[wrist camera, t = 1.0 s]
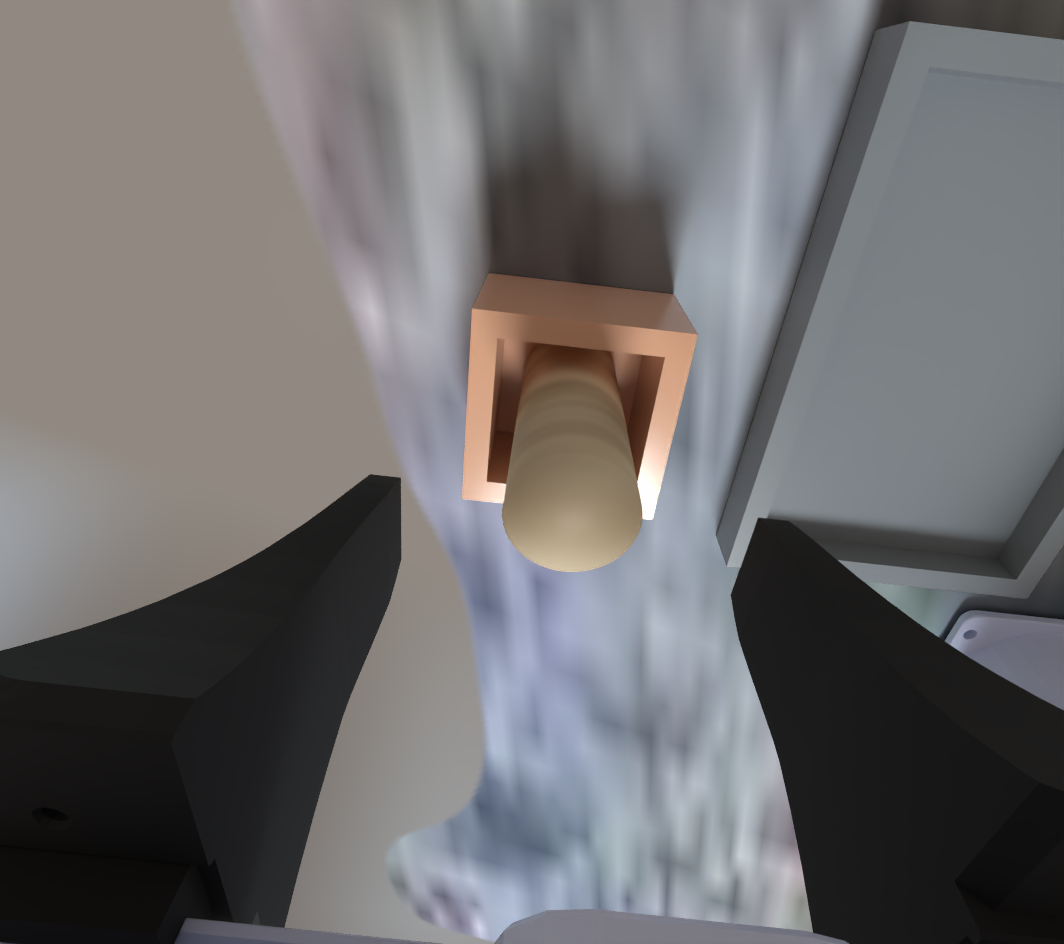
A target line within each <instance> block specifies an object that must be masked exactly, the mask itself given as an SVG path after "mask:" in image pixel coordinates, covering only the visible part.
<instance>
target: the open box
mask: <svg viewBox="0 0 1064 944" xmlns="http://www.w3.org/2000/svg"><path fill="white" fill-rule="evenodd" d="M697 337H698V334H697V332H696V330H695V329H694V327H693V325H692V324H691V322H690V320H689V319H688V317H687V315H686V314H685V312H684V310H683V309H682V307H681V305H680V304H679V302H678V300H677V299H676V297H675V295H674V294H667V293H658V292H650V291H641V290H632V289H624V288H615V287H606V286H597V285H589V284H580V283H571V282H563V281H554V280H545V279H537V278H528V277H519V276H511V275H502V274H493V273H488V275H487V278H486V280H485V282H484V284H483V286H482V288H481V290H480V293H479V295H478V297H477V299H476V301H475V303H474V305H473V308H472V319H471V338H470V357H469V376H468V395H467V414H466V433H465V452H464V471H463V490H462V499H468V500H477V501H486V502H495V503H503V502H504V496H505V489H506V483H507V476H508V470H509V464H510V457H511V451H512V444H513V438H514V431H515V425H516V418H517V412H518V406H519V399H520V393H521V386H522V380H523V373H524V367H525V364H526V361H527V359H528V357H529V355H530V354H531V352H532V351H533V350H534V349H535V348H536V347H537V346H538V345H539V344H540V343H543V344H552V345H561V346H570V347H578V348H587V349H596V350H605V351H607V352H608V353H609V355H610V356H611V358H612V360H613V363H614V367H615V372H616V377H617V382H618V387H619V392H620V397H621V402H622V407H623V412H624V417H625V422H626V427H627V432H628V438H629V443H630V448H631V453H632V458H633V463H634V468H635V473H636V478H637V483H638V488H639V493H640V498H641V504H642V510H643V518H642V519H649V520H653V516H654V512H655V508H656V503H657V499H658V495H659V491H660V487H661V483H662V479H663V475H664V471H665V467H666V463H667V459H668V455H669V451H670V446H671V442H672V438H673V434H674V430H675V426H676V422H677V418H678V414H679V410H680V406H681V402H682V398H683V394H684V389H685V385H686V381H687V377H688V373H689V369H690V365H691V361H692V357H693V353H694V349H695V345H696V341H697Z"/></svg>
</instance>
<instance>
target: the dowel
mask: <svg viewBox="0 0 1064 944" xmlns="http://www.w3.org/2000/svg"><path fill="white" fill-rule="evenodd" d="M642 518H643V510H642V504H641V498H640V493H639V488H638V483H637V478H636V473H635V468H634V463H633V458H632V453H631V448H630V443H629V438H628V432H627V427H626V422H625V417H624V412H623V407H622V402H621V397H620V392H619V387H618V382H617V377H616V372H615V367H614V363H613V360H612V358H611V356H610V355H609V353H608V352H607V351H605V350H596V349H587V348H578V347H570V346H561V345H552V344H543V343H540V344H539V345H538V346H537V347H536V348H535V349H534V350H533V351H532V352H531V354H530V355H529V357H528V359H527V361H526V364H525V367H524V373H523V380H522V386H521V393H520V399H519V406H518V412H517V418H516V425H515V431H514V438H513V444H512V451H511V457H510V464H509V470H508V476H507V483H506V489H505V496H504V502H503V509H502V519H503V525H504V528H505V532H506V534H507V536H508V538H509V540H510V541H511V543H512V544H513V546H514V547H515V548H516V549H517V550H518V551H519V552H520V553H521V554H522V555H523V556H525V557H526V558H528V559H529V560H531V561H532V562H534V563H536V564H538V565H540V566H543V567H546V568H549V569H553V570H557V571H565V572H581V571H587V570H592V569H596V568H599V567H602V566H604V565H606V564H608V563H610V562H612V561H614V560H616V559H617V558H619V557H620V556H621V555H622V554H623V553H625V552H626V551H627V550H628V549H629V547H630V546H631V545H632V544H633V542H634V541H635V539H636V537H637V535H638V533H639V531H640V528H641V524H642Z"/></svg>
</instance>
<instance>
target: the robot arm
mask: <svg viewBox="0 0 1064 944" xmlns="http://www.w3.org/2000/svg"><path fill="white" fill-rule="evenodd" d="M400 562H401V478H398V477H389V476H380V475H369V476H368V477H366V478H365V479H364V480H362V481H361V482H360V483H358V484H357V485H355V486H354V487H353V488H352V489H350V490H349V491H348V492H346V493H345V494H344V495H342V496H341V497H340V498H338V499H337V500H336V501H335V502H333V503H332V504H331V505H329V506H328V507H327V508H326V509H324V510H323V511H321V512H320V513H318V514H317V515H316V516H314V517H313V518H312V519H310V520H309V521H308V522H306V523H305V524H303V525H302V526H300V527H299V528H297V529H296V530H294V531H292V532H291V533H289V534H288V535H286V536H285V537H283V538H282V539H280V540H279V541H277V542H276V543H274V544H273V545H271V546H270V547H268V548H266V549H265V550H263V551H261V552H259V553H258V554H256V555H254V556H252V557H251V558H249V559H247V560H246V561H243V562H242V563H240V564H238V565H236V566H234V567H232V568H230V569H228V570H226V571H224V572H223V573H221V574H219V575H216V576H214V577H212V578H210V579H208V580H206V581H204V582H201V583H199V584H197V585H194V586H192V587H190V588H188V589H185V590H183V591H181V592H179V593H176V594H174V595H172V596H170V597H167V598H165V599H163V600H160V601H158V602H155V603H152V604H150V605H147V606H145V607H142V608H139V609H137V610H134V611H131V612H129V613H126V614H123V615H120V616H117V617H114V618H111V619H108V620H105V621H102V622H100V623H96V624H93V625H90V626H87V627H85V628H81V629H78V630H74V631H70V632H67V633H63V634H60V635H57V636H53V637H49V638H46V639H43V640H39V641H35V642H32V643H28V644H25V645H21V646H18V647H14V648H10V649H6V650H2V651H0V944H439V943H430V942H420V941H409V940H400V939H390V938H379V937H370V936H360V935H351V934H341V933H331V932H321V931H311V930H301V929H290V928H284V927H285V922H286V919H287V915H288V911H289V906H290V903H291V899H292V895H293V891H294V887H295V883H296V879H297V875H298V871H299V867H300V864H301V860H302V857H303V853H304V849H305V846H306V842H307V838H308V834H309V831H310V827H311V823H312V819H313V816H314V812H315V808H316V805H317V802H318V798H319V795H320V791H321V788H322V784H323V781H324V777H325V774H326V770H327V767H328V763H329V760H330V757H331V754H332V750H333V747H334V744H335V740H336V737H337V734H338V730H339V727H340V724H341V721H342V717H343V714H344V712H345V709H346V706H347V703H348V701H349V698H350V695H351V693H352V691H353V688H354V686H355V683H356V681H357V679H358V676H359V674H360V672H361V669H362V667H363V664H364V662H365V660H366V657H367V655H368V653H369V650H370V648H371V645H372V643H373V641H374V638H375V636H376V634H377V631H378V629H379V626H380V624H381V621H382V619H383V616H384V614H385V612H386V609H387V607H388V604H389V602H390V599H391V595H392V591H393V588H394V584H395V581H396V577H397V573H398V569H399V565H400ZM731 599H732V605H733V611H734V617H735V622H736V627H737V632H738V637H739V641H740V644H741V647H742V650H743V653H744V656H745V659H746V662H747V665H748V668H749V671H750V674H751V677H752V680H753V683H754V686H755V689H756V692H757V694H758V697H759V700H760V703H761V706H762V709H763V712H764V715H765V718H766V721H767V723H768V726H769V729H770V732H771V735H772V738H773V741H774V745H775V748H776V751H777V755H778V758H779V762H780V766H781V770H782V774H783V779H784V783H785V788H786V792H787V796H788V801H789V805H790V809H791V814H792V819H793V824H794V829H795V834H796V839H797V844H798V849H799V854H800V859H801V864H802V869H803V875H804V881H805V887H806V893H807V899H808V905H809V911H810V916H811V922H812V928H813V933H812V932H808V931H801V930H791V929H782V928H772V927H762V926H752V925H742V924H733V923H723V922H713V921H703V920H694V919H684V918H674V917H664V916H655V915H645V914H635V913H625V912H615V911H606V910H596V909H583V910H550V911H545V912H542V913H539V914H536V915H534V916H531V917H528V918H525V919H522V920H520V921H517V922H514V923H512V924H511V925H510V926H509V927H508V928H507V929H505V930H504V931H503V933H502V934H501V935H500V937H499V938H498V939H497V941H496V942H495V943H494V944H1064V620H1061V619H1052V618H1043V617H1034V616H1025V615H1016V614H1006V613H997V612H988V611H979V610H971V611H967V612H965V613H963V614H962V615H961V616H960V617H959V619H958V620H957V622H956V623H955V625H954V627H953V628H952V630H951V632H950V633H949V635H948V636H947V638H946V640H945V641H943V640H942V639H940V638H939V637H937V636H936V635H934V634H933V633H931V632H930V631H928V630H927V629H925V628H924V627H923V626H921V625H920V624H918V623H917V622H916V621H914V620H913V619H912V618H910V617H909V616H907V615H906V614H905V613H903V612H902V611H901V610H899V609H898V608H897V607H895V606H894V605H893V604H891V603H890V602H889V601H887V600H886V599H885V598H884V597H882V596H881V595H880V594H878V593H877V592H876V591H875V590H873V589H872V588H871V587H870V586H868V585H867V584H866V583H865V582H863V581H862V580H861V579H860V578H858V577H857V576H856V575H855V574H854V573H852V572H851V571H850V570H849V569H848V568H846V567H845V566H844V565H843V564H842V563H840V562H839V561H838V560H837V559H836V558H834V557H833V556H832V555H831V554H830V553H828V552H827V551H826V550H825V549H824V548H822V547H821V546H820V545H819V544H818V543H816V542H815V541H814V540H813V539H812V538H810V537H809V536H808V535H807V534H805V533H804V532H803V531H802V530H800V529H799V528H798V527H796V526H795V525H793V524H792V523H791V522H789V521H785V520H776V519H767V518H758V519H757V522H756V525H755V528H754V531H753V533H752V536H751V539H750V542H749V545H748V548H747V550H746V553H745V556H744V559H743V562H742V565H741V568H740V570H739V573H738V576H737V579H736V582H735V585H734V587H733V590H732V593H731Z"/></svg>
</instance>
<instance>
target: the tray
mask: <svg viewBox="0 0 1064 944" xmlns="http://www.w3.org/2000/svg"><path fill="white" fill-rule="evenodd" d="M758 518H767V519H776V520H785V521H789V522H791V523H792V524H793V525H795V526H796V527H798V528H799V529H800V530H802V531H803V532H804V533H805V534H807V535H808V536H809V537H810V538H812V539H813V540H814V541H815V542H816V543H818V544H819V545H820V546H821V547H822V548H824V549H825V550H826V551H827V552H828V553H830V554H831V555H832V556H833V557H834V558H836V559H837V560H838V561H839V562H840V563H842V564H843V565H844V566H845V567H846V568H848V569H849V570H850V571H851V572H852V573H854V574H855V575H856V576H857V577H858V578H860V579H861V580H862V581H866V582H875V583H884V584H894V585H903V586H912V587H921V588H930V589H939V590H948V591H958V592H967V593H976V594H985V595H994V596H1003V597H1012V598H1021V599H1028V597H1029V596H1030V594H1031V593H1032V591H1033V590H1034V588H1035V587H1036V585H1037V584H1038V582H1039V581H1040V579H1041V578H1042V576H1043V575H1044V574H1045V572H1046V571H1047V569H1048V568H1049V566H1050V565H1051V563H1052V562H1053V560H1054V559H1055V557H1056V556H1057V554H1058V553H1059V551H1060V550H1061V548H1062V547H1063V545H1064V40H1061V39H1053V38H1045V37H1037V36H1028V35H1020V34H1012V33H1004V32H995V31H987V30H979V29H971V28H962V27H954V26H946V25H938V24H930V23H921V22H913V21H908V22H905V23H901V24H897V25H893V26H889V27H885V28H882V29H878V30H875V34H874V37H873V40H872V43H871V46H870V49H869V53H868V56H867V59H866V62H865V65H864V68H863V72H862V75H861V78H860V81H859V84H858V87H857V91H856V94H855V97H854V100H853V103H852V107H851V110H850V113H849V116H848V119H847V122H846V126H845V129H844V132H843V135H842V138H841V141H840V145H839V148H838V151H837V154H836V157H835V161H834V164H833V167H832V170H831V173H830V176H829V180H828V183H827V186H826V189H825V192H824V195H823V199H822V202H821V205H820V208H819V211H818V215H817V218H816V221H815V224H814V227H813V230H812V234H811V237H810V240H809V243H808V246H807V249H806V253H805V256H804V259H803V262H802V265H801V269H800V272H799V275H798V278H797V281H796V284H795V288H794V291H793V294H792V297H791V300H790V303H789V307H788V310H787V313H786V316H785V319H784V322H783V326H782V329H781V332H780V335H779V338H778V342H777V345H776V348H775V351H774V354H773V357H772V361H771V364H770V367H769V370H768V373H767V376H766V380H765V383H764V386H763V389H762V392H761V396H760V399H759V402H758V405H757V408H756V411H755V415H754V418H753V421H752V424H751V427H750V430H749V434H748V437H747V440H746V443H745V446H744V450H743V453H742V456H741V459H740V462H739V465H738V469H737V472H736V475H735V478H734V481H733V484H732V488H731V491H730V494H729V497H728V500H727V504H726V507H725V510H724V513H723V516H722V519H721V523H720V526H719V529H718V532H717V535H716V538H717V540H718V543H719V546H720V549H721V552H722V554H723V557H724V560H725V563H726V566H729V567H738V568H741V565H742V562H743V559H744V556H745V553H746V550H747V548H748V545H749V542H750V539H751V536H752V533H753V531H754V528H755V525H756V522H757V519H758Z"/></svg>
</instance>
